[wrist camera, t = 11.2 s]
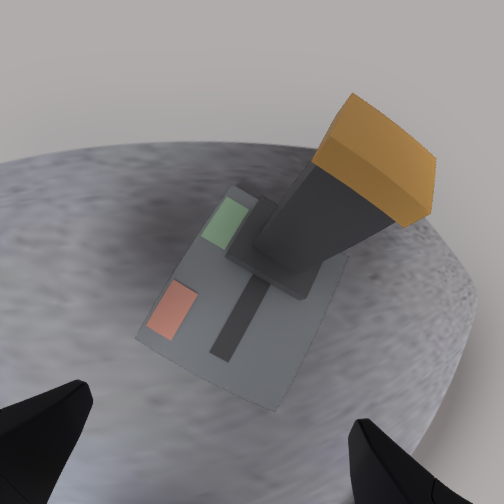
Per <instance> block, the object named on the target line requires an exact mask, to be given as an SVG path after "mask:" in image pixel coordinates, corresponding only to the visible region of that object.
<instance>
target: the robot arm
mask: <svg viewBox="0 0 504 504" xmlns="http://www.w3.org/2000/svg"><path fill="white" fill-rule="evenodd" d="M92 405H93V397H92V394H91V391H90V388H89V385H88V384H87V383H86V382H84V381H81V380H74V381H72V382H69V383H67V384H64V385H62V386H60V387H57V388H55V389H52V390H50V391H47V392H45V393H42V394H39V395H37V396H34V397H32V398H29V399H26V400H24V401H21V402H18V403H16V404H13V405H10V406H8V407H5V408H2V409H0V504H47V502H48V500H49V497H50V495H51V493H52V491H53V489H54V487H55V485H56V483H57V480H58V478H59V476H60V474H61V472H62V470H63V468H64V466H65V464H66V462H67V460H68V458H69V456H70V454H71V453H72V451H73V449H74V447H75V445H76V443H77V441H78V439H79V437H80V435H81V433H82V430H83V428H84V425H85V422H86V420H87V417H88V415H89V412H90V410H91V408H92ZM348 446H349V461H350V477H351V484H352V489H353V495H354V500H355V504H473V503H471V502H469V501H468V500H466V499H464V498H462V497H461V496H459V495H458V494H456V493H455V492H453V491H452V490H450V489H449V488H448V487H447V486H445V485H444V484H443V483H442V482H440V481H439V480H438V479H437V478H434V476H433V475H432V474H431V473H429V472H428V471H427V470H426V469H425V468H424V467H422V466H421V465H420V464H419V463H418V462H417V461H415V460H414V459H413V458H412V457H411V456H410V455H409V454H408V453H406V452H405V451H404V450H403V449H402V448H401V447H400V446H398V445H397V444H396V443H395V442H394V441H393V440H392V439H391V438H390V437H388V436H387V435H386V434H385V433H384V432H383V431H382V430H381V429H380V428H379V427H377V426H376V425H375V424H374V423H373V422H372V421H371V420H370V419H368V418H364V419H357V420H356V421H355V422H354V425H353V427H352V429H351V431H350V433H349V436H348Z"/></svg>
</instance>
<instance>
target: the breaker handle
mask: <svg viewBox="0 0 504 504" xmlns="http://www.w3.org/2000/svg"><path fill="white" fill-rule="evenodd" d="M435 169H436V158H435V157H434V156H433V155H432V154H431V153H430V152H429V151H428V150H426V149H425V148H424V147H423V146H422V145H421V144H420V143H419V142H417V141H416V140H415V139H414V138H413V137H411V136H410V135H409V134H408V133H406V132H405V131H404V130H403V129H402V128H400V127H399V126H398V125H397V124H395V123H394V122H393V121H392V120H390V119H389V118H388V117H386V116H385V115H384V114H382V113H381V112H380V111H378V110H377V109H375V108H374V107H373V106H371V105H370V104H368V103H367V102H365V101H364V100H363V99H361V98H360V97H358V96H357V95H355V94H354V93H352V94H351V95H350V97H349V98H348V100H347V101H346V102H345V104H344V105H343V106H342V108H341V109H340V111H339V112H338V113H337V115H336V116H335V118H334V120H333V122H332V124H331V125H330V127H329V129H328V131H327V133H326V135H325V137H324V139H323V140H322V142H321V144H320V146H319V148H318V150H317V151H316V153H315V155H314V157H313V158H312V160H311V161H310V162H309V164H308V165H307V166H306V168H305V169H304V170H303V172H302V173H301V174H300V176H299V177H298V178H297V180H296V181H295V182H294V184H293V185H292V186H291V188H290V189H289V191H288V192H287V193H286V195H285V196H284V197H283V199H282V200H281V201H280V203H279V204H278V205H276V204H274V203H273V202H271V201H269V200H268V199H266V198H264V197H263V196H261V197H260V199H259V200H258V202H257V203H256V205H255V207H254V208H253V210H252V212H251V213H250V215H249V216H248V218H247V220H246V221H245V223H244V225H243V226H242V228H241V230H240V231H239V233H238V234H237V236H236V238H235V239H234V241H233V243H232V244H231V246H230V248H229V249H228V251H227V253H226V255H225V257H226V258H227V259H229V260H231V261H232V262H234V263H236V264H238V265H239V266H241V267H243V268H244V269H246V270H248V271H249V272H251V273H253V274H254V275H256V276H258V277H260V278H261V279H263V280H265V281H266V282H268V283H270V284H272V285H273V286H275V287H277V288H278V289H280V290H282V291H284V292H285V293H287V294H289V295H291V296H292V297H294V298H296V299H297V300H299V301H300V300H304V299H306V298H307V296H308V294H309V292H310V290H311V288H312V285H313V283H314V281H315V279H316V277H317V274H318V272H319V270H320V268H321V265H322V263H323V261H325V260H327V259H329V258H331V257H333V256H335V255H337V254H339V253H340V252H342V251H344V250H346V249H348V248H350V247H352V246H353V245H355V244H357V243H359V242H361V241H363V240H364V239H366V238H368V237H370V236H372V235H373V234H375V233H377V232H379V231H381V230H382V229H384V228H386V227H388V226H390V225H391V224H393V223H395V222H397V223H398V224H399V225H401V226H402V227H403V228H405V227H407V226H409V225H411V224H412V223H414V222H416V221H418V220H420V219H422V218H424V217H425V216H427V215H429V214H431V209H432V201H433V192H434V181H435Z"/></svg>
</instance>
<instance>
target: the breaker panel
mask: <svg viewBox="0 0 504 504" xmlns="http://www.w3.org/2000/svg"><path fill="white" fill-rule="evenodd" d="M257 202H258V199H256V198H255V197H253V196H251V195H250V194H248V193H246V192H245V191H243V190H241V189H239V188H238V187H236V186H234V185H233V184H232V185H231V186H230V188H229V189H228V191H227V192H226V193H225V195H224V196H223V198H222V199H221V201H220V202H219V204H218V205H217V207H216V208H215V210H214V211H213V212H212V214H211V215H210V217H209V218H208V220H207V221H206V223H205V224H204V226H203V227H202V229H201V231H200V232H199V234H198V235H197V237H196V238H195V240H194V241H193V243H192V244H191V246H190V247H189V249H188V251H187V252H186V254H185V255H184V257H183V258H182V260H181V262H180V263H179V265H178V266H177V268H176V270H175V271H174V273H173V274H172V276H171V278H170V279H169V281H168V283H167V284H166V286H165V287H164V289H163V291H162V292H161V294H160V296H159V297H158V299H157V301H156V302H155V304H154V306H153V307H152V309H151V311H150V313H149V314H148V316H147V318H146V319H145V321H144V323H143V325H142V326H141V328H140V330H139V332H138V333H137V335H136V337H135V339H136V340H138V341H139V342H141V343H142V344H144V345H145V346H147V347H149V348H150V349H152V350H153V351H155V352H157V353H158V354H160V355H162V356H163V357H165V358H167V359H168V360H170V361H172V362H173V363H175V364H177V365H179V366H180V367H182V368H184V369H186V370H188V371H189V372H191V373H193V374H195V375H197V376H199V377H200V378H202V379H204V380H206V381H208V382H210V383H212V384H214V385H216V386H218V387H220V388H222V389H224V390H226V391H228V392H230V393H232V394H234V395H237V396H239V397H241V398H243V399H245V400H247V401H250V402H252V403H254V404H256V405H259V406H261V407H263V408H266V409H268V410H271V411H273V412H276V410H277V408H278V406H279V404H280V403H281V401H282V399H283V397H284V395H285V394H286V392H287V390H288V388H289V386H290V384H291V382H292V380H293V378H294V377H295V375H296V373H297V371H298V369H299V367H300V365H301V363H302V361H303V359H304V357H305V355H306V353H307V351H308V349H309V347H310V345H311V343H312V340H313V338H314V336H315V334H316V332H317V330H318V328H319V325H320V323H321V321H322V319H323V317H324V314H325V312H326V310H327V308H328V305H329V303H330V301H331V298H332V296H333V294H334V291H335V289H336V287H337V284H338V282H339V279H340V277H341V274H342V272H343V269H344V267H345V264H346V262H347V259H348V257H349V256H347V255H346V254H344V253H343V252H340V253H339V254H337V255H335V256H333V257H331V258H329V259H327V260H325V261H323V263H322V265H321V268H320V270H319V272H318V274H317V277H316V279H315V281H314V283H313V285H312V288H311V290H310V292H309V294H308V296H307V298H306V299H304V300H300V301H299V300H297V299H296V298H294V297H292V296H291V295H289V294H287V293H285V292H284V291H282V290H280V289H278V288H277V287H275V286H273V285H272V284H270V283H268V282H266V281H265V280H263V279H261V278H260V277H258V276H256V275H254V274H253V273H251V272H249V271H248V270H246V269H244V268H243V267H241V266H239V265H238V264H236V263H234V262H232V261H231V260H229V259H227V258H226V257H225V255H226V253H227V251H228V249H229V248H230V246H231V244H232V243H233V241H234V239H235V238H236V236H237V234H238V233H239V231H240V230H241V228H242V226H243V225H244V223H245V221H246V220H247V218H248V216H249V215H250V213H251V212H252V210H253V208H254V207H255V205H256V203H257Z"/></svg>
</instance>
